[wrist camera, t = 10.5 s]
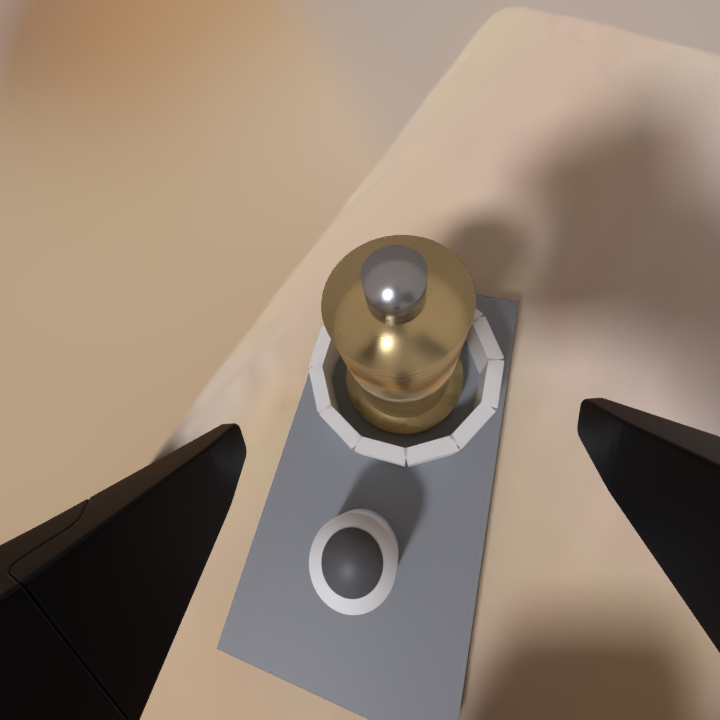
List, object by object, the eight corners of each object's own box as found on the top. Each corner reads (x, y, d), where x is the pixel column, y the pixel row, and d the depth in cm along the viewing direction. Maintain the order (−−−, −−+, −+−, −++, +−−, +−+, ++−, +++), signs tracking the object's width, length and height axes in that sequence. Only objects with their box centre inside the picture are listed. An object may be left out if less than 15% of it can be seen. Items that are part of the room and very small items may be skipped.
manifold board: (449, 734, 16) (463, 825, 12) (231, 636, 19) (178, 681, 14) (512, 312, 23) (535, 273, 18) (346, 285, 25) (333, 245, 21)
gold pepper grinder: (485, 379, 20) (569, 263, 9) (404, 460, 19) (392, 438, 8) (403, 310, 22) (393, 153, 11) (328, 379, 21) (242, 280, 11)
